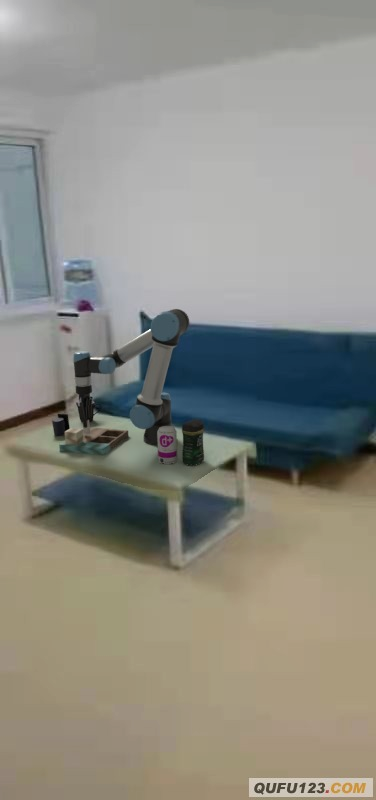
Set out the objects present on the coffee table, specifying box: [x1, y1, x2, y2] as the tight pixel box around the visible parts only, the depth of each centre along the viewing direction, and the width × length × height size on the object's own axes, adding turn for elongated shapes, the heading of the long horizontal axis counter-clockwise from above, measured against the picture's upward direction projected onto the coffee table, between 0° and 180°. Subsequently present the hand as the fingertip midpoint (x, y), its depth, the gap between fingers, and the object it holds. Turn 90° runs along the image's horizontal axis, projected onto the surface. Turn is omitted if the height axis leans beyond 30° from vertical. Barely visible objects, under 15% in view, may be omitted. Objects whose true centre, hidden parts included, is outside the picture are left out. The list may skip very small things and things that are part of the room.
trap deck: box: [58, 426, 129, 456], centre depth 295 cm, size 22×28×3 cm
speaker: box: [51, 412, 71, 437], centre depth 309 cm, size 8×6×10 cm
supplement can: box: [157, 425, 178, 465], centre depth 268 cm, size 8×8×15 cm
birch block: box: [64, 427, 83, 445], centre depth 286 cm, size 6×6×6 cm
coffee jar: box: [181, 418, 205, 466], centre depth 266 cm, size 10×8×19 cm
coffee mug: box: [80, 400, 102, 423], centre depth 330 cm, size 12×9×10 cm
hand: (86, 433), depth 297 cm, fingers closed
